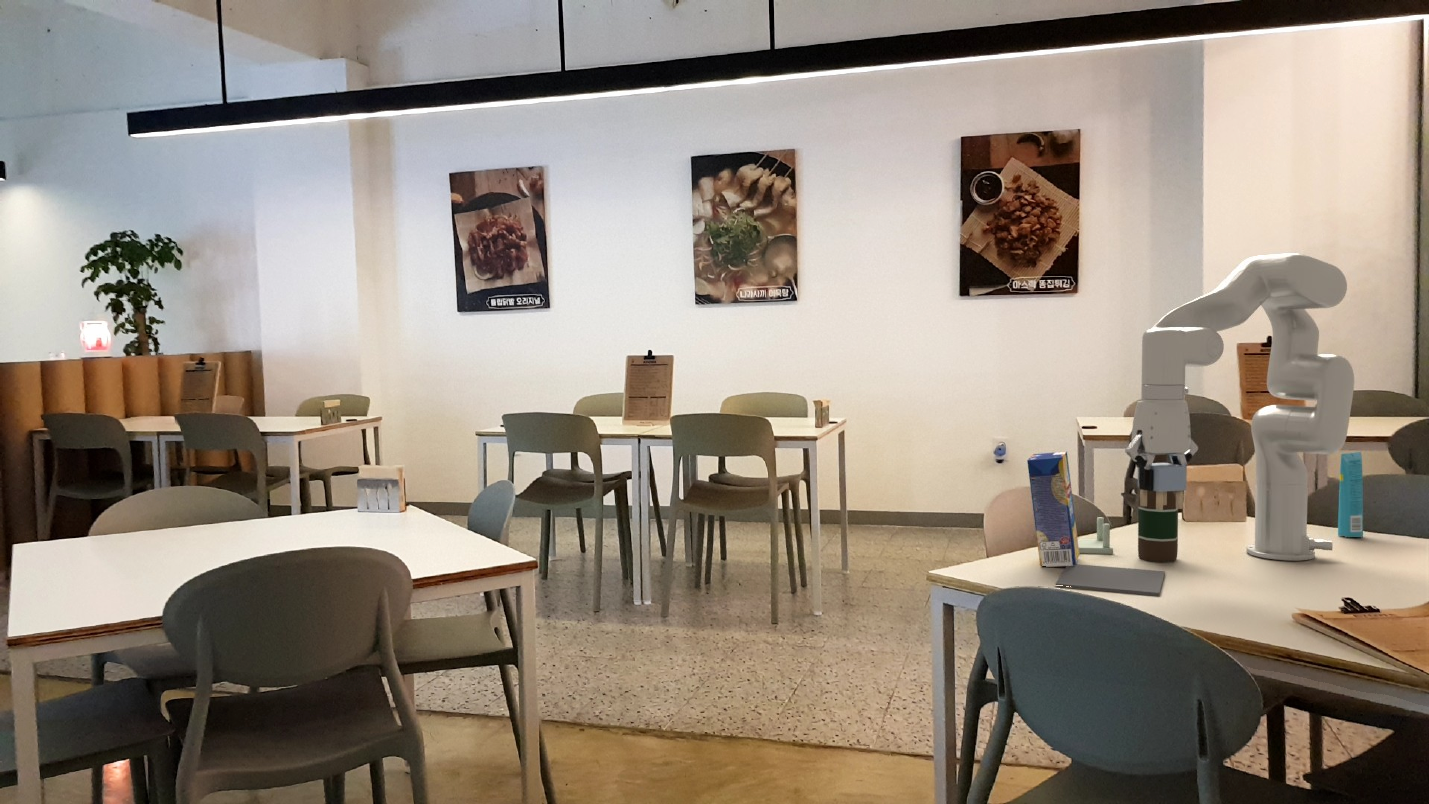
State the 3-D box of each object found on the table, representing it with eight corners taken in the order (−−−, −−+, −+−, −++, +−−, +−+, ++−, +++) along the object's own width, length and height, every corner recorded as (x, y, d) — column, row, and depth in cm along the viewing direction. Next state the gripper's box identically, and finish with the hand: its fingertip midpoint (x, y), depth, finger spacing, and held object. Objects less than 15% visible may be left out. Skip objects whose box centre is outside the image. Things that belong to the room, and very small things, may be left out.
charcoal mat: (1164, 574, 199) (1164, 571, 199) (1159, 596, 183) (1159, 592, 183) (1068, 566, 207) (1068, 563, 207) (1055, 586, 191) (1055, 583, 191)
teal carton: (1346, 532, 235) (1348, 450, 234) (1369, 536, 231) (1371, 452, 229) (1330, 536, 231) (1332, 453, 229) (1353, 540, 227) (1355, 455, 225)
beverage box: (1079, 554, 214) (1066, 451, 214) (1075, 565, 204) (1062, 457, 204) (1045, 555, 217) (1033, 454, 216) (1040, 567, 207) (1027, 460, 206)
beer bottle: (1182, 563, 208) (1183, 447, 206) (1141, 562, 209) (1142, 446, 208) (1173, 555, 215) (1174, 442, 214) (1134, 554, 217) (1135, 442, 215)
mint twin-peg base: (1104, 544, 227) (1105, 516, 227) (1113, 553, 218) (1113, 525, 217) (1058, 543, 229) (1058, 516, 229) (1064, 552, 220) (1064, 524, 219)
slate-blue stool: (1163, 503, 196) (1164, 462, 195) (1185, 508, 190) (1186, 466, 189) (1137, 505, 194) (1137, 463, 194) (1158, 510, 188) (1159, 467, 188)
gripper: (1187, 392, 197) (1185, 484, 198) (1110, 394, 192) (1109, 488, 193) (1215, 394, 189) (1213, 489, 191) (1137, 396, 185) (1135, 494, 186)
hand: (1161, 488), depth 192 cm, fingers closed on slate-blue stool, 6 cm apart
